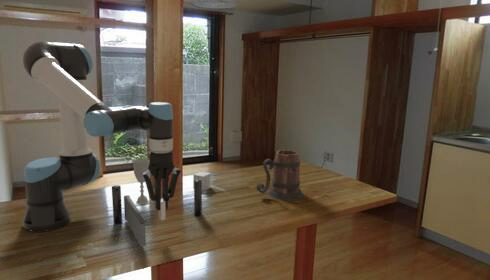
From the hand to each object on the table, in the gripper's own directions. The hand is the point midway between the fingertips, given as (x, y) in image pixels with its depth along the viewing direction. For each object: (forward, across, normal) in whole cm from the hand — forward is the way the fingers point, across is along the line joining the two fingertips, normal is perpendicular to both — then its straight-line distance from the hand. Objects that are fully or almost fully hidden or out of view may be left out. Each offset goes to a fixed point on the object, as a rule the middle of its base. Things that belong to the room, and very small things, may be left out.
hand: (161, 218), depth 122 cm
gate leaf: (+6, -7, +7) cm, 12 cm away
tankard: (+7, +62, +14) cm, 63 cm away
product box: (+8, +34, +39) cm, 52 cm away
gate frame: (+7, +5, +16) cm, 18 cm away
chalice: (+8, +4, +35) cm, 36 cm away
